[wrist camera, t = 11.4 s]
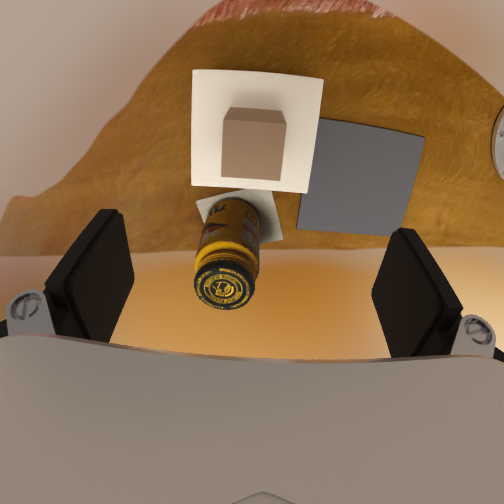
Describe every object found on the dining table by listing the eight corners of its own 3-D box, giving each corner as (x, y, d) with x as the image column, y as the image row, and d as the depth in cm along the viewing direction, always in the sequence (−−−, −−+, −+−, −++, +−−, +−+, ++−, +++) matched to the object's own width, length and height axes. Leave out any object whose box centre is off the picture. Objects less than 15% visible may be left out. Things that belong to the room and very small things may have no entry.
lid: (321, 78, 22) (339, 85, 17) (305, 189, 27) (316, 222, 23) (194, 69, 21) (177, 74, 17) (193, 181, 27) (179, 213, 23)
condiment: (195, 200, 35) (171, 266, 25) (269, 182, 34) (274, 245, 24) (215, 251, 39) (202, 325, 29) (283, 237, 38) (291, 311, 28)
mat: (423, 136, 29) (425, 138, 29) (396, 234, 37) (397, 236, 36) (311, 116, 29) (312, 117, 29) (296, 226, 37) (296, 229, 36)
